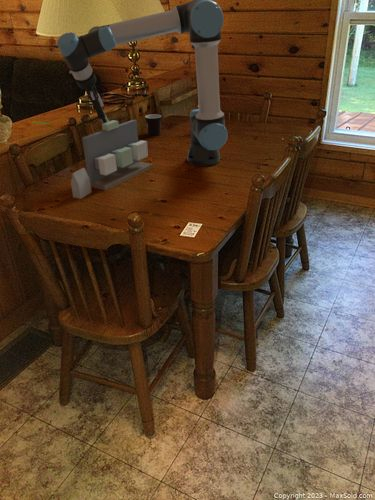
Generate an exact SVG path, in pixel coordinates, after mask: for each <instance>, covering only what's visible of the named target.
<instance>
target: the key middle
mask: <svg viewBox="0 0 375 500" xmlns="http://www.w3.org/2000/svg"><path fill="white" fill-rule="evenodd" d="M111 154H114V155H115V157H116V162H117V166H118V167H122V168H123V167H125V166H128V165H130V164H132V163H133V156H132V148H130V147H124V148H122V149H118V148H117V149H114V150H112V151H111Z"/></svg>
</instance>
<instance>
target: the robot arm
mask: <svg viewBox="0 0 375 500" xmlns="http://www.w3.org/2000/svg"><path fill="white" fill-rule="evenodd" d="M224 20H225V19H224V13H223V10H222V8H221V7H220V5H219V4H218V3H217V2H216V1H214V0H191V1H187V2H185V3H182V4H179V5H175V6H173V7H172V9H170V10H167V11H162V12H156V13H153V14H149V15H144V16H140V17H136V18H131V19H127V20H123V21H122V20H121V21H118V22H113V23H109V24H106V25H101V26H98V25H96V26H93V27H91V28H90V29H89V30H88V33H86V34H83V35H81V36H78V35H76V33H74V32H71V31H70V32H66V33H63V34H62V35H60V36H59V38H58V39H57V43H56V44H57V47H58V49H59V51H60V53H61V56H62V58H63V59H64V62H66V65H67V67H68V68H69V74H71V75H72V76H73V78H74V81H75V82H76V84H77V86H78V88H80V89H82V90H85V92H86V95H87V96H88V98H89V100H90V101H91V104H92V105H93V108H94V110H95V113H96V115H97V117H96V118H97V119H98V120H100V122H101V125H102V124H103V123H106V122H109V121H110V120H109V119H108V117H107V115H106V113H105V112H104V109H103V107H105V104H104V102H103V100H102V98H101V96H100V94H99V92H100V91H99V88H97V87H96V85H95V84H97V77H96V75H95V73H94V70H93V67H92V66H91V64H90V61H89V59H91V58H92V57H95V56H98V55H100V54H103V53H106V52H110V51H111V50H113V49H115V48H116V47H117V46H118V45H119V46H120V45H123V44H127V43H132V42H137V41H141V40H146V39H151V38H154V37H158V36H163V35H167V34H171V33H178V34H180V35H181V34H185V33H189V42H190V44H191V45H192V46H193V47H194V57H195V58H194V59H195V72H196V86H197V101H198V102H197V103H198V105H199V107H198V108H196V109H192V110H190V114H189V115H190V116H189V118H190V119H189V121H190V122H189V123H190V125H189V126H190V144H189V147H188V151H187V154H186V155H187V156H186V161H187V163H189V164H191V165H194V166H204V167H205V166H206V167H207V166H212V165H216V164H218V163H219V162H221V154H220V151H219V149H221V148H222V147H223V146H224V145H225V144H226V142H227V141H228V137H229V135H228V134H229V133H228V130H227V127H226V125H225V113H224V112H223V111H222V110H221V99H220V98H221V96H220V75H219V74H220V73H219V53H218V51H219V49H218V45H219V44H220V42H221V41H222V28H223V25H224Z"/></svg>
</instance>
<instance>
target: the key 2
mask: <svg viewBox="0 0 375 500" xmlns="http://www.w3.org/2000/svg"><path fill="white" fill-rule="evenodd" d="M127 147H130V148H132V155H133V159H134V160H140V161H141V160H142V159H145V158H147V157H149V151H148V148H149V147H148V141H147V140H138V142H136V143H135V142H131V143H129V144H127Z"/></svg>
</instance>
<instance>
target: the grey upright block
mask: <svg viewBox="0 0 375 500" xmlns="http://www.w3.org/2000/svg"><path fill="white" fill-rule="evenodd" d="M71 175H72V176H71V181H70V187H71V192H72V198H75V199H80V200H81V199H83V198H85V197H86V196H89V195H90V194H91V193H92V187H91V185H90V178H89V176H88V174H87V169H86V168H85V167H82V168H80V169H78V170H76V171H74V172H73V173H72V174H71Z"/></svg>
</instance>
